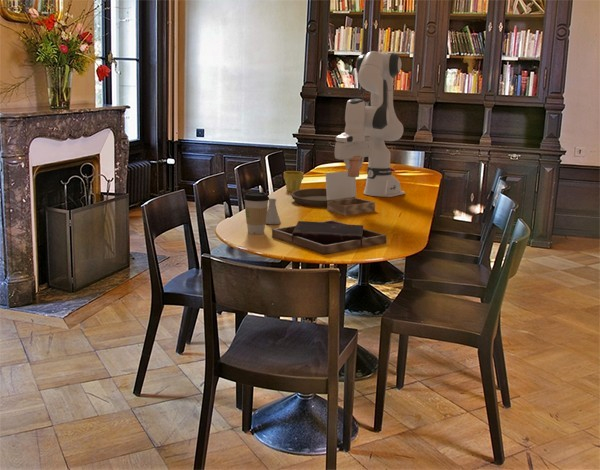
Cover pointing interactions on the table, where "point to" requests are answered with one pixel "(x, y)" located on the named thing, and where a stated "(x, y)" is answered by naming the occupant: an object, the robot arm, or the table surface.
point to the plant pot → (293, 180)
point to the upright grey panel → (340, 185)
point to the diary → (328, 232)
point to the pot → (354, 166)
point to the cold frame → (350, 206)
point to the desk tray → (367, 240)
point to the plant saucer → (313, 197)
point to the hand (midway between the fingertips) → (353, 168)
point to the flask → (272, 213)
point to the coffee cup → (256, 211)
